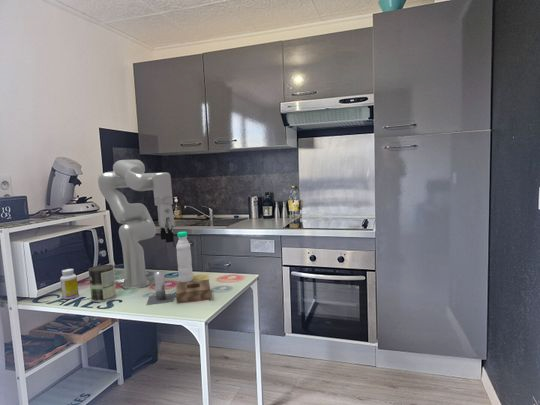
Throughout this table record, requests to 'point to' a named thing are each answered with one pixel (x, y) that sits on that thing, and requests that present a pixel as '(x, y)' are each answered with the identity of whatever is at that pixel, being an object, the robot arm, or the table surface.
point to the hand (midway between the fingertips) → (167, 240)
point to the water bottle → (184, 258)
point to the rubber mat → (168, 299)
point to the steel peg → (159, 285)
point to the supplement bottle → (69, 284)
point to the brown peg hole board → (193, 291)
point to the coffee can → (102, 283)
